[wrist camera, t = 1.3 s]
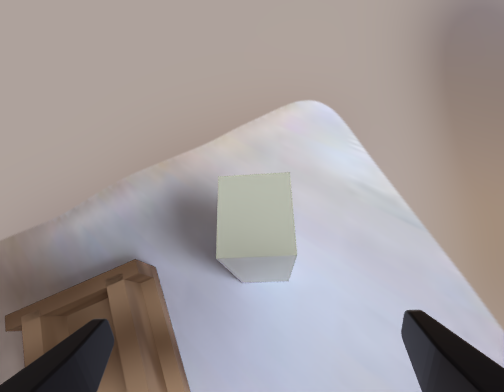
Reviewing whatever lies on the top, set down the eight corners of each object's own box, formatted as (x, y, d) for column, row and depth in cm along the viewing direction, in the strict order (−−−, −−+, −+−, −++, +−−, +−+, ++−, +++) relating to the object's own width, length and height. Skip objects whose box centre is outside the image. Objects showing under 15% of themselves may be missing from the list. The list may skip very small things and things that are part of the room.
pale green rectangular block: (288, 281, 21) (297, 255, 12) (242, 282, 21) (215, 258, 12) (284, 230, 23) (289, 172, 13) (242, 232, 23) (218, 176, 14)
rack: (195, 408, 18) (177, 428, 15) (62, 474, 18) (14, 509, 14) (155, 267, 22) (135, 259, 19) (45, 315, 21) (5, 315, 18)
